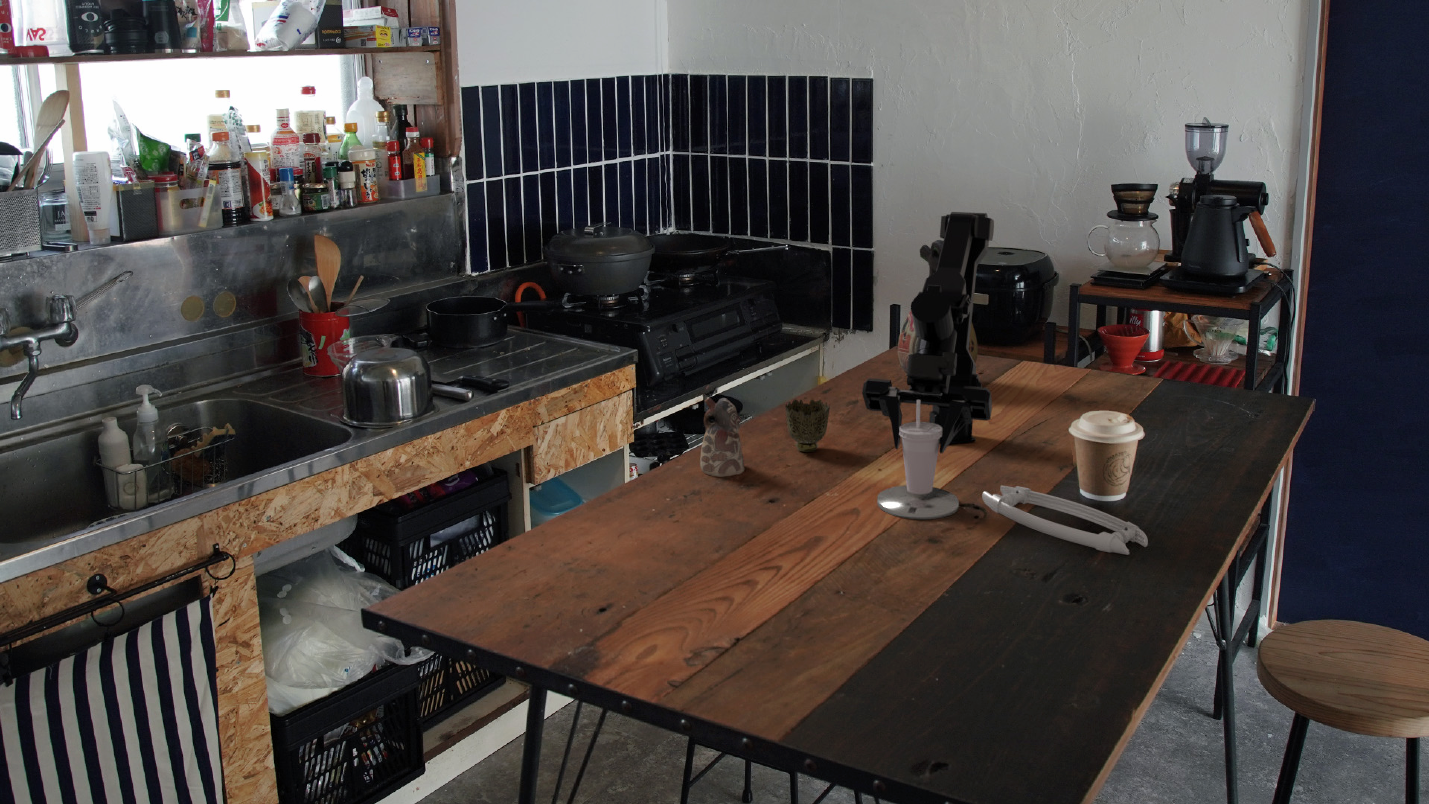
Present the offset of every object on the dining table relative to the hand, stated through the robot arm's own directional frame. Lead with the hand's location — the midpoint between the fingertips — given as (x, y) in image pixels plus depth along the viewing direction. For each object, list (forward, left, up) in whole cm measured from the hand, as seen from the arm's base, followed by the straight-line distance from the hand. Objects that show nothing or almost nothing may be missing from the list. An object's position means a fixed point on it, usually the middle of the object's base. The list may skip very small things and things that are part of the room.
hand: (918, 450), depth 181 cm
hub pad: (-1, -1, -9) cm, 9 cm away
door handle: (-18, +11, -10) cm, 23 cm away
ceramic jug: (-27, -58, -9) cm, 64 cm away
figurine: (+24, -23, -9) cm, 35 cm away
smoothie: (-1, -1, -7) cm, 7 cm away
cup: (+8, -29, -9) cm, 32 cm away
